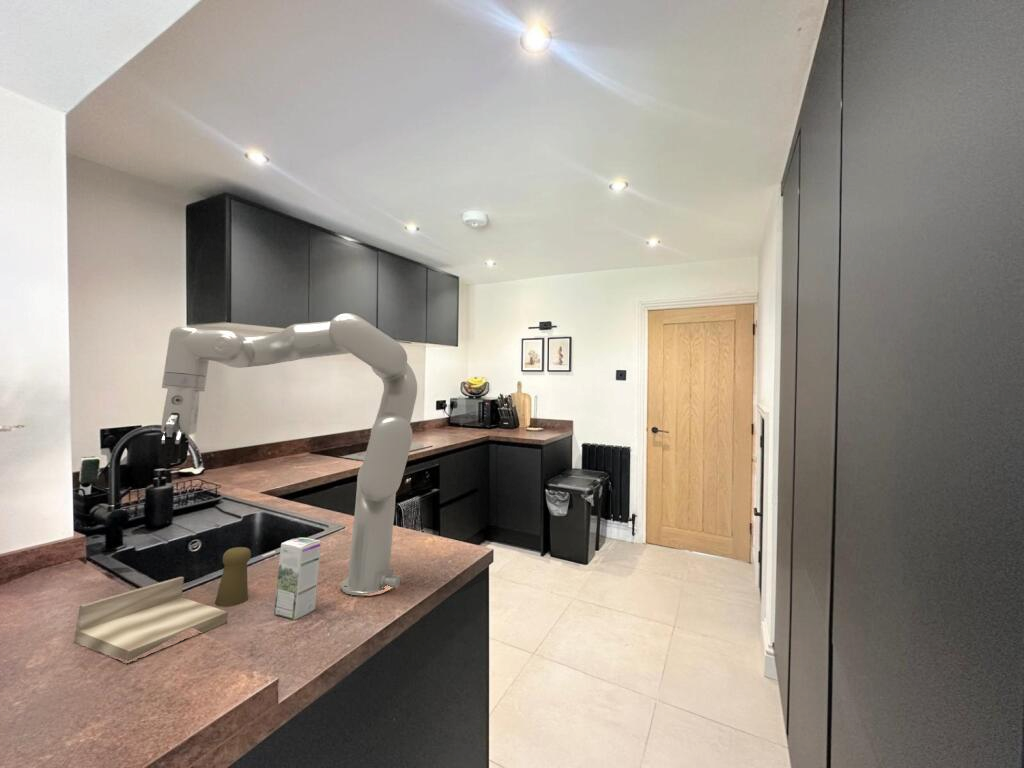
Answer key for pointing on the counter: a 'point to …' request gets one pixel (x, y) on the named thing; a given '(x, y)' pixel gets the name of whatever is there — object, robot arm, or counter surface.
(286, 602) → the syrup box
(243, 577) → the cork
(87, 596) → the counter surface
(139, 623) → the shelf
